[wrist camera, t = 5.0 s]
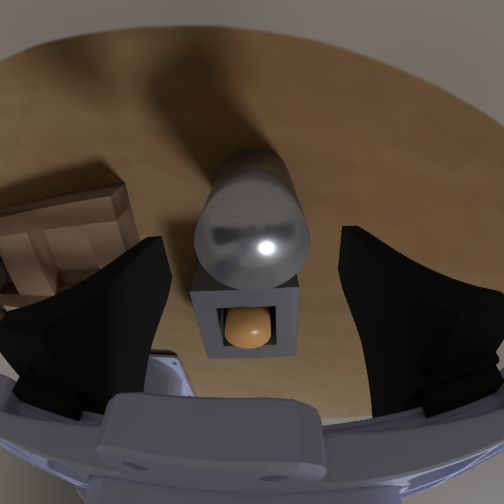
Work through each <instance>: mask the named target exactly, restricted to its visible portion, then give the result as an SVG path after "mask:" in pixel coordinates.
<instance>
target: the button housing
mask: <svg viewBox="0 0 504 504" xmlns="http://www.w3.org/2000/svg"><path fill="white" fill-rule="evenodd" d="M190 296H191V299H192V303H193V307H194V311H195V315H196V318H197V322H198V326H199V329H200V333H201V336H202V340H203V343H204V347H205V350H206V354H207V357H208V358H258V357H280V356H296V346H297V327H298V303H299V284H298V278H297V273H296V274H295V275H294V276H293V277H292V278H291V279H289V280H288V281H286V282H285V283H283V284H281V285H279V286H276V287H273V288H270V289H266V290H260V291H246V290H239V289H235V288H232V287H229V286H227V285H224V284H222V283H221V282H219V281H217V280H216V279H214V278H213V277H212V276H211V275H210V274H209V273H208V272H207V271H206V270H205V269H204V268H203V266H202V265H201V263H200V261H198V264H197V268H196V271H195V274H194V278H193V281H192V285H191V288H190ZM264 306H275V309H270V324H271V336H270V339H269V340H268V341H267V343H265V344H264V345H262V346H260V347H257V348H250V349H246V348H240V347H237V346H235V345H233V344H231V343H230V342H229V341H228V340H227V339H226V337H225V333H224V332H225V323H226V315H227V308H239V307H264Z"/></svg>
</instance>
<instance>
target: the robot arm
mask: <svg viewBox="0 0 504 504" xmlns="http://www.w3.org/2000/svg"><path fill="white" fill-rule="evenodd" d="M338 272H339V276H340V281H341V285H342V289H343V292H344V295H345V297H346V300H347V303H348V305H349V308H350V311H351V313H352V316H353V319H354V321H355V324H356V327H357V330H358V333H359V336H360V339H361V343H362V348H363V353H364V358H365V363H366V368H367V374H368V381H369V388H370V396H371V405H372V418H371V419H366V420H360V421H354V422H348V423H340V424H333V425H326V426H322V422H321V418H320V416H319V413H318V411H317V409H315V408H313V407H312V406H309V405H307V404H304V403H301V402H299V401H296V400H294V399H282V398H269V397H258V398H216V397H195V395H194V393H193V391H192V389H191V386H190V384H189V382H188V379H187V377H186V375H185V373H184V370H183V368H182V365H181V363H180V361H179V358H178V357H177V356H175V355H160V354H150V350H151V346H152V342H153V339H154V336H155V333H156V330H157V327H158V324H159V321H160V319H161V316H162V313H163V310H164V307H165V305H166V302H167V299H168V295H169V291H170V286H171V281H172V274H171V271H170V267H169V263H168V259H167V256H166V252H165V248H164V244H163V240H162V236H156V237H147V238H145V239H143V240H142V241H140V242H139V243H137V244H136V245H134V246H133V247H131V248H130V249H129V250H127V251H126V252H124V253H123V254H122V255H120V256H119V257H118V258H116V259H115V260H113V261H112V262H110V263H109V264H108V265H106V266H105V267H103V268H102V269H100V270H99V271H97V272H96V273H94V274H93V275H91V276H90V277H88V278H86V279H85V280H83V281H81V282H79V283H78V284H76V285H74V286H72V287H70V288H68V289H66V290H64V291H62V292H60V293H58V294H56V295H53V296H51V297H49V298H46V299H44V300H41V301H39V302H36V303H33V304H30V305H27V306H24V307H21V308H17V309H14V310H10V311H8V312H6V313H5V315H4V316H3V317H2V319H1V320H0V353H1V354H2V355H3V357H4V358H5V359H6V360H7V362H8V363H9V364H10V365H11V367H12V368H13V369H14V370H15V371H16V373H17V374H18V375H19V376H20V377H19V379H18V380H17V382H16V381H14V380H13V379H11V378H9V377H7V376H4V375H2V374H0V444H1V445H2V446H3V447H5V448H6V449H8V450H9V451H10V452H12V453H13V454H15V455H17V456H19V457H21V458H22V459H24V460H26V461H28V462H30V463H31V464H33V465H35V466H37V467H39V468H41V469H43V470H45V471H47V472H49V473H51V474H53V475H55V476H57V477H60V478H62V479H64V480H66V481H68V482H71V483H73V484H75V486H76V488H77V493H78V494H79V495H80V497H81V498H82V499H83V501H84V504H401V498H404V497H407V496H410V495H413V494H416V493H418V492H421V491H424V490H426V489H429V488H431V487H434V486H436V485H439V484H441V483H443V482H446V481H448V480H450V479H452V478H454V477H456V476H458V475H461V474H463V473H465V472H467V471H469V470H471V469H473V468H475V467H477V466H478V465H480V464H482V463H484V462H486V461H488V460H489V459H491V458H493V457H495V456H496V455H498V454H500V453H501V452H503V451H504V368H503V369H502V370H501V371H500V372H499V370H498V368H497V366H496V364H498V362H499V357H498V355H497V354H496V351H497V349H498V348H499V346H500V344H501V343H502V341H503V340H504V294H503V293H502V292H500V291H496V290H491V289H487V288H482V287H478V286H474V285H471V284H468V283H464V282H461V281H458V280H455V279H453V278H450V277H447V276H445V275H443V274H440V273H438V272H435V271H433V270H431V269H429V268H427V267H425V266H423V265H421V264H419V263H417V262H415V261H413V260H411V259H409V258H408V257H406V256H404V255H403V254H401V253H399V252H398V251H396V250H394V249H393V248H391V247H390V246H388V245H387V244H385V243H384V242H382V241H381V240H379V239H378V238H376V237H375V236H373V235H372V234H370V233H369V232H367V231H365V230H364V229H362V228H360V227H358V226H342V233H341V244H340V254H339V264H338Z"/></svg>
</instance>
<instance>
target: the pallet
mask: <svg viewBox="0 0 504 504" xmlns="http://www.w3.org/2000/svg"><path fill="white" fill-rule="evenodd" d="M139 242H140V241H139V237H138V233H137V230H136V226H135V222H134V218H133V214H132V210H131V206H130V202H129V198H128V194H127V190H126V185H125V183H123V184H116V185H110V186H104V187H99V188H93V189H88V190H83V191H78V192H73V193H68V194H63V195H58V196H54V197H49V198H45V199H40V200H36V201H32V202H28V203H24V204H20V205H16V206H12V207H8V208H5V209H1V210H0V255H1V258H2V260H3V262H4V264H5V266H6V268H7V270H8V273H9V275H10V277H11V278H10V279H9V280H8V281H7V283H6V284H5V285H4V286H3V287H2V288H1V290H0V305H2V306H11V307H24V306H27V305H30V304H33V303H36V302H39V301H41V300H44V299H46V298H49V297H51V296H53V295H56V294H58V293H60V292H62V291H64V290H66V289H68V288H70V287H72V286H74V285H76V284H78V283H79V282H81V281H83V280H85V279H86V278H88V277H90V276H91V275H93V274H94V273H96V272H97V271H99V270H100V269H102V268H103V267H105V266H106V265H108V264H109V263H110V262H112V261H113V260H115V259H116V258H118V257H119V256H120V255H122V254H123V253H124V252H126V251H127V250H129V249H130V248H131V247H133V246H134V245H136V244H137V243H139Z"/></svg>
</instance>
